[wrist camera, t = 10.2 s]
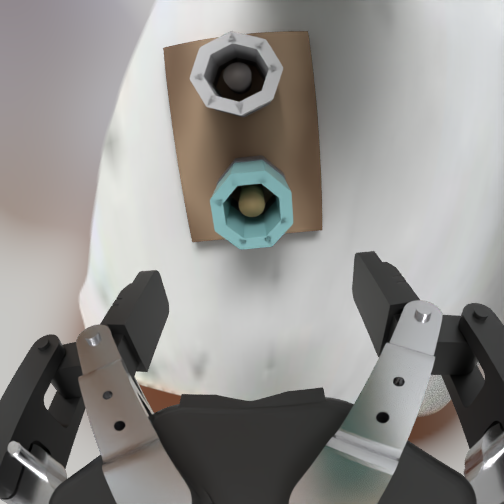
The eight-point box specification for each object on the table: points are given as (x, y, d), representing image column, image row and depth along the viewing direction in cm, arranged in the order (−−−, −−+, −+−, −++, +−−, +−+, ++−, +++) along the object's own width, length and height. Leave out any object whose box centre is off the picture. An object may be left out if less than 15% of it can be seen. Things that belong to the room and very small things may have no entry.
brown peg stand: (304, 35, 20) (321, 12, 14) (319, 224, 28) (336, 254, 22) (168, 51, 20) (143, 34, 14) (195, 235, 28) (180, 268, 22)
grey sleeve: (253, 43, 19) (254, 19, 13) (285, 96, 21) (297, 89, 15) (195, 73, 20) (175, 59, 14) (227, 126, 22) (218, 129, 16)
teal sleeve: (281, 153, 23) (291, 166, 17) (285, 214, 26) (295, 245, 20) (216, 160, 24) (204, 175, 18) (224, 220, 26) (217, 253, 20)
